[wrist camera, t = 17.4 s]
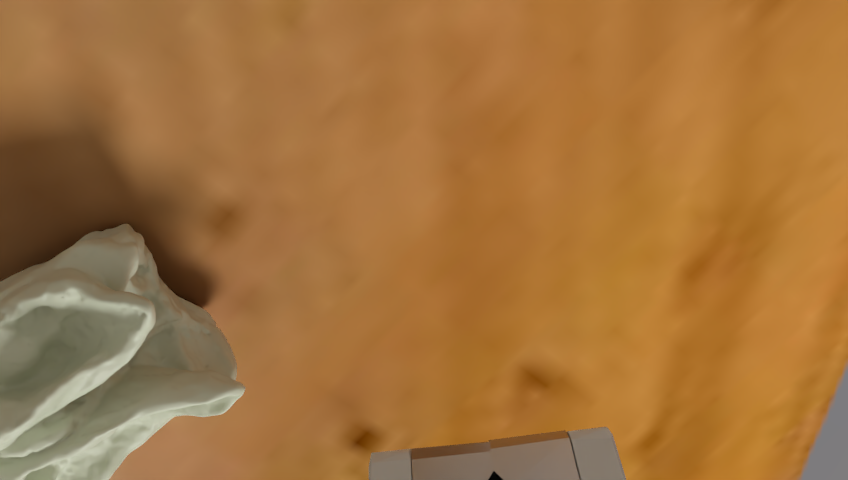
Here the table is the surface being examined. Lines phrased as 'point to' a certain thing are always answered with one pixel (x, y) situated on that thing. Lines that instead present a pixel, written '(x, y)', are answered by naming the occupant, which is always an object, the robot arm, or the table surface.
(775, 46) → the table surface
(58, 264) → the folded clay sculpture
